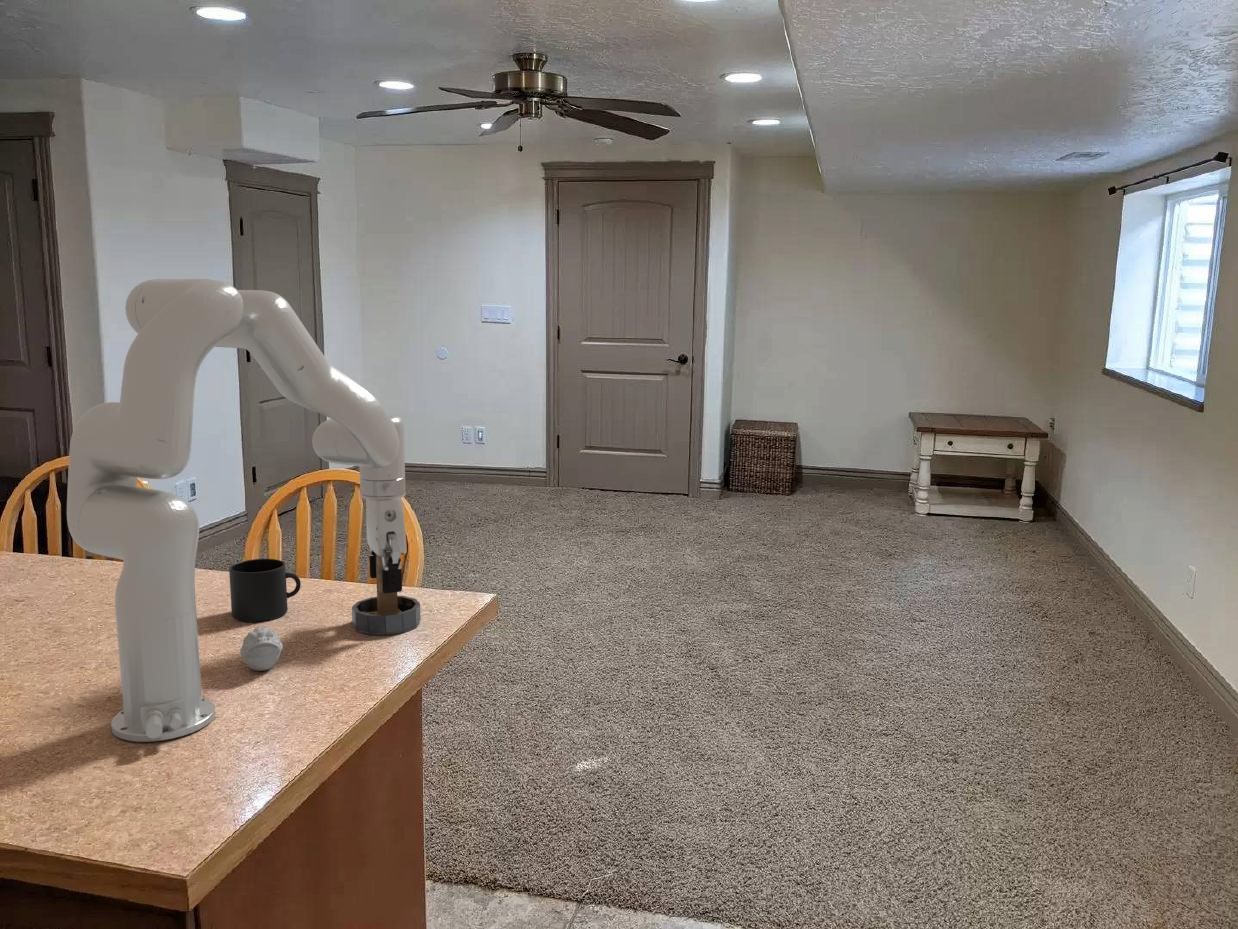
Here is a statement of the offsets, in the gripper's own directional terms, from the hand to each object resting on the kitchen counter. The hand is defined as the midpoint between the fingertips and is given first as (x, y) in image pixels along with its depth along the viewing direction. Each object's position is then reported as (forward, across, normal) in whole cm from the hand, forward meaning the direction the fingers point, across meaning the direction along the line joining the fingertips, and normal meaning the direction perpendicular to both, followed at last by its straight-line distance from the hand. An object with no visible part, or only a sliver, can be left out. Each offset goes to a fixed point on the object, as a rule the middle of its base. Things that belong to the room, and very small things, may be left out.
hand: (385, 584), depth 169 cm
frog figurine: (+7, -13, +22) cm, 27 cm away
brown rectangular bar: (+7, 0, 0) cm, 7 cm away
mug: (+7, +15, +18) cm, 25 cm away
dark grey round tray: (+7, 0, 0) cm, 7 cm away
